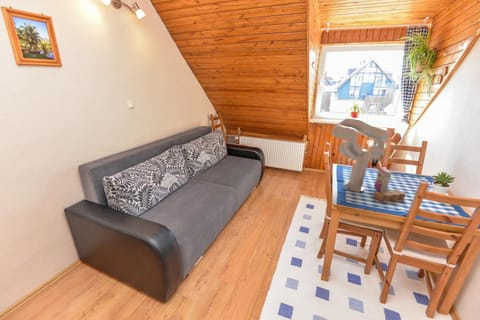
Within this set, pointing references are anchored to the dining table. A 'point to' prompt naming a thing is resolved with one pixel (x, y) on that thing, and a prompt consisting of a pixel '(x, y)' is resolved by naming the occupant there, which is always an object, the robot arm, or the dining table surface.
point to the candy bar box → (382, 179)
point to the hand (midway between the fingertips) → (373, 166)
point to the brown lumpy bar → (389, 195)
